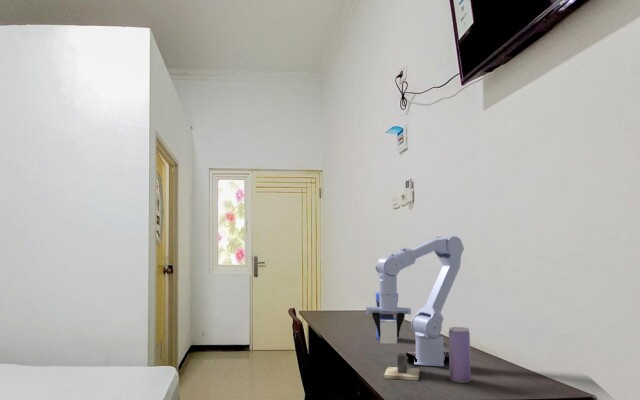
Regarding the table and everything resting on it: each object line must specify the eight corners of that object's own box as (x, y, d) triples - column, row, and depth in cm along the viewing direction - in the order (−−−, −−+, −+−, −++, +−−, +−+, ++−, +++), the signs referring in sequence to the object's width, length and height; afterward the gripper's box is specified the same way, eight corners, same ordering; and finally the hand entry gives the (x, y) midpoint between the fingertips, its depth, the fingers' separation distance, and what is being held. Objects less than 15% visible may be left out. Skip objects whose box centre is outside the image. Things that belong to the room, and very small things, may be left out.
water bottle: (402, 338, 210) (401, 278, 212) (392, 342, 202) (392, 280, 204) (381, 336, 215) (381, 277, 217) (372, 339, 207) (371, 279, 209)
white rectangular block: (396, 340, 164) (396, 320, 165) (397, 343, 159) (396, 322, 160) (380, 340, 165) (380, 319, 165) (380, 343, 160) (380, 322, 160)
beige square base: (419, 371, 156) (419, 352, 156) (418, 380, 146) (418, 359, 147) (387, 370, 158) (387, 350, 159) (384, 378, 148) (384, 357, 149)
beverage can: (467, 384, 142) (466, 331, 144) (447, 381, 145) (446, 329, 147) (473, 379, 147) (471, 327, 149) (453, 376, 150) (452, 326, 152)
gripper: (409, 293, 166) (410, 334, 165) (366, 292, 168) (366, 333, 167) (411, 295, 159) (411, 338, 158) (365, 294, 161) (366, 337, 160)
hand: (388, 336), depth 162 cm, fingers closed on white rectangular block, 5 cm apart
